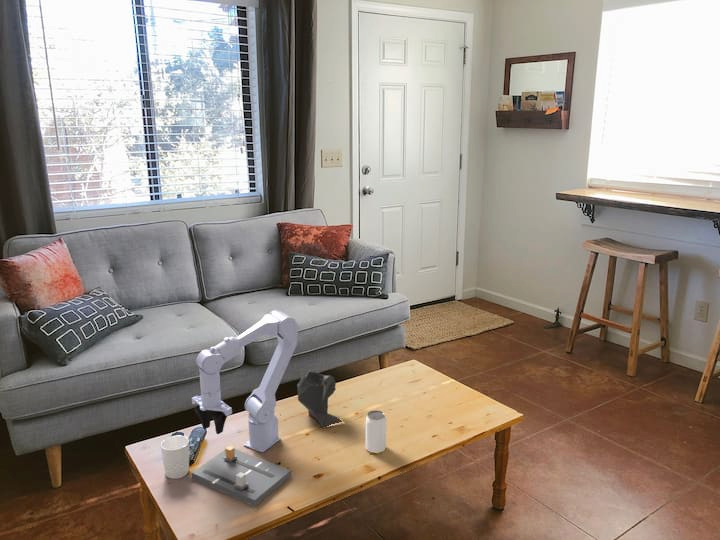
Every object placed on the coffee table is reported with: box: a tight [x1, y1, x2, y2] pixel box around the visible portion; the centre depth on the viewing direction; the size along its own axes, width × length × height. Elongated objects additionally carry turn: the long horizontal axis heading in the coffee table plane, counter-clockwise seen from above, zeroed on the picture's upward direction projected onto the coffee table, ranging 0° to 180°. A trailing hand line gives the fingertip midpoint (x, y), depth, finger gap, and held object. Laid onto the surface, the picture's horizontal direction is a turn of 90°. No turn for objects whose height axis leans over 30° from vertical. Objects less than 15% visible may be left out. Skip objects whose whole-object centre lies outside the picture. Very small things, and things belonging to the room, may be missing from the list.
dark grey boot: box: [296, 369, 342, 429], centre depth 205 cm, size 14×15×18 cm
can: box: [365, 410, 387, 453], centre depth 187 cm, size 6×6×12 cm
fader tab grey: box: [234, 472, 249, 490], centre depth 165 cm, size 3×3×4 cm
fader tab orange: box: [223, 445, 237, 462], centre depth 178 cm, size 3×3×4 cm
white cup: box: [160, 434, 190, 480], centre depth 174 cm, size 8×8×10 cm
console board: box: [190, 448, 292, 507], centre depth 173 cm, size 16×24×2 cm
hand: (213, 430), depth 180 cm, fingers open, 5 cm apart
